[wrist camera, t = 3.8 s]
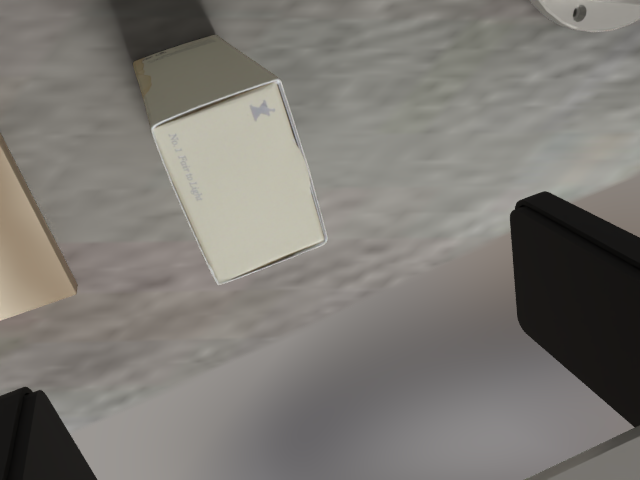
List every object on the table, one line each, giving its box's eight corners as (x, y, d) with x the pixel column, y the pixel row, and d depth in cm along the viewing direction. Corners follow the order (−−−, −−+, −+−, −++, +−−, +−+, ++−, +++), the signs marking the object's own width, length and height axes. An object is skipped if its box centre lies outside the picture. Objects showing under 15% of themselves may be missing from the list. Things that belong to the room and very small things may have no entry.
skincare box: (130, 60, 27) (138, 118, 17) (220, 31, 28) (281, 69, 18) (180, 180, 30) (212, 292, 20) (259, 151, 31) (332, 244, 21)
